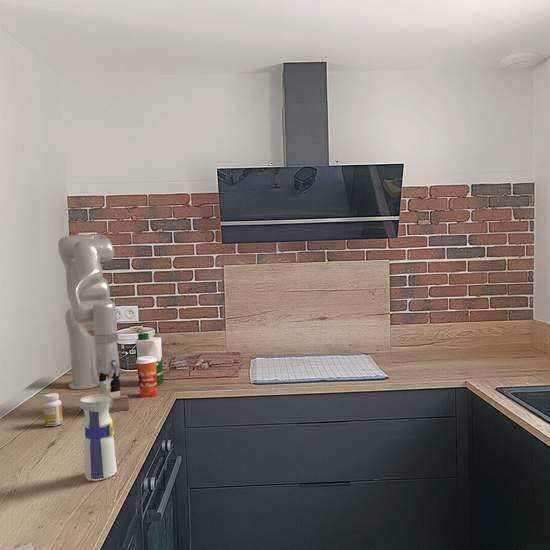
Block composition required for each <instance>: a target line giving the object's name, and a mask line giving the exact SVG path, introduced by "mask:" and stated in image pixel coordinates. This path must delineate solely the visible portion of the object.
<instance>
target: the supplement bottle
mask: <svg viewBox="0 0 550 550" xmlns="http://www.w3.org/2000/svg"><path fill="white" fill-rule="evenodd" d="M44 399H45V402H44V403H43V413H44V414H43V417H44V425H49V426H51V425H58V424H61V423H63V424H64V418H63V403H62V401H61V400H60V396H59V393H56V392H54V393H53V392H52V393H48V394H45V395H44Z"/></svg>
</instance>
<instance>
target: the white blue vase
mask: <svg viewBox="0 0 550 550" xmlns="http://www.w3.org/2000/svg"><path fill="white" fill-rule="evenodd" d="M111 380H112V379H110V378H109V379H108V377H106V381H105V382H104V384H105V385H106V390H107V389H108V388H111V385H110V383H111ZM78 405H79V408H80V409H82V410H83V412H84V420H83V422H82V426H83V427H84V441H83V450H84V454H83V455H84V477H85V476H86V477H88V478H91V479H92V478H93V479H98V478H99V479H100V478H106V477H109V476H112V475H114V474H115V473H116V472H117V473H118V469H117V460H116V451H115V440H114V438H115V437H114V434H115V422H113V419H112V418H111V415H110V414H109V407H111V408H112V405H113V398H112V396H111V395H109V394H100V393H96V394H90V395H86V396H83V397H81V398H80V400H79V404H78Z"/></svg>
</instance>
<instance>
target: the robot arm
mask: <svg viewBox="0 0 550 550" xmlns="http://www.w3.org/2000/svg"><path fill="white" fill-rule="evenodd" d="M57 247H58V248H57V249H58V253H59V256H60V259H61V261H62V264H63V265H64V269H65V278H66V279H65V280H66V293H67V298H68V300H69V302H70V306H71V308H68V310H66V312H65V315H64V319H65V323H66V327H67V328H66V329H67V332H68V341H69V349H70V350H69V351H70V365H71V378H72V381H71V382H70V383H69V384H68V388H69V389H71V390H88V389H92V388H97V387H100V382H101V381H106V377H108V379H109V380H111V379H112V380H111V383H110V385H111V388H110V392H117V391H121V382H120V379H121V378H120V375H121V373H120V371H121V367H120V360H119V359H120V358H119V351H118V345H117V344H118V343H119V337H118V323H117V322H118V321H117V309H116V307H117V306H116V304H115V302H114V301H112V300H111V292H110V289H111V288H110V284H109V282H108V280H107V279H106V278H104V277H103V276H104V272H103V269H102V265H101V262H111V261H112V260H113V259H114V257H115V248H114V246H113V242H112V241H111V240H110V239H109V238H108V237H107V236H105V235H103V234H101V233H99V234H75V235H66V236H63V237H61V238H59V240H58V243H57ZM90 330H93V332H94V333H93V334H94V336H92V335H91V334H90V333H89V332H88V331H90Z"/></svg>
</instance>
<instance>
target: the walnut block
mask: <svg viewBox="0 0 550 550" xmlns="http://www.w3.org/2000/svg"><path fill="white" fill-rule="evenodd" d="M128 410H129V411H130V403H129V396H128V395H127V394H126V393H125V392H124V391H123V390H120V396H118V397H113V405H112V408H111V407H109V413H112V414H115V413H114V412H118V413H121V412H120V411H124V412H129V411H128Z"/></svg>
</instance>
